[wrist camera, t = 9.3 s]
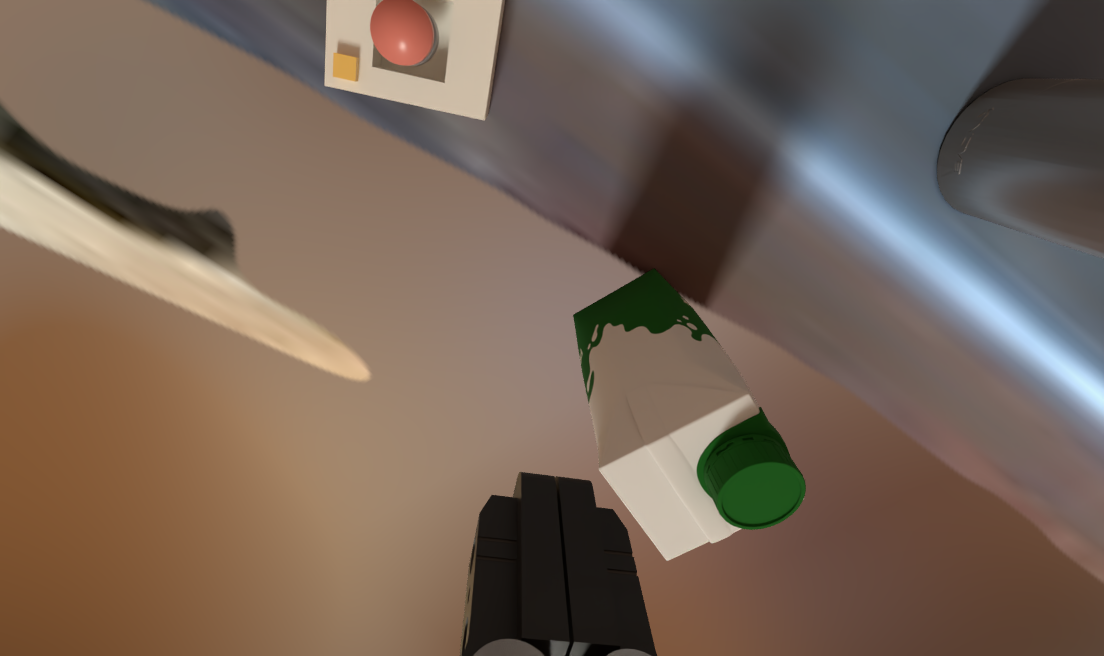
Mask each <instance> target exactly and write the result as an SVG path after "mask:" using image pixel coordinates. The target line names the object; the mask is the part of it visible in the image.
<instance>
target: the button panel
mask: <svg viewBox="0 0 1104 656" xmlns="http://www.w3.org/2000/svg"><path fill="white" fill-rule="evenodd" d="M381 1H383V0H327V17H326V54H325V86H329V87H333V88H338V89H342V90H347V91H352V92H356V93H361V94H365V95H370V96H375V97H379V98H384V99H388V100H393V101H398V102H402V103H407V104H411V105H416V106H421V107H425V108H430V109H434V110H439V111H444V112H448V113H453V114H457V115H462V116H467V117H471V118H476V119H480V120H485V119H486V118H487V116H488V113H489V106H490V100H491V93H492V86H493V79H494V73H495V66H496V59H497V53H498V46H499V39H500V32H501V26H502V19H503V12H504V5H505V0H413V1H414V2H416V3H417V4H419V5H420V6H422V7H423V8H425V9H426V10H427V11H428V12H429V13H430V14H431V15H432V17H433V18H434V20H435V22H436V24H437V27H438V31H439V44H438V48H437V50H436V53H435V54H434V56H433V57H432V58H431V59H430V60H429V61H428V62H426V63H424V64H422V65H418V66H405V65H398V64H394V63H392V62H390V61H388V60H387V59H386V58H384V57H383V56H382V55H381V54H380V53H379V51H378V50H377V48H376V47H375V45H374V43H373V40H372V37H371V32H370V21H371V16H372V14H373V11H374V9H375V8H376V6H377V5H378V4H379V3H380V2H381Z"/></svg>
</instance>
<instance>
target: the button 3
mask: <svg viewBox="0 0 1104 656" xmlns="http://www.w3.org/2000/svg"><path fill="white" fill-rule="evenodd" d="M370 32H371V37H372V40H373V43H374V45H375V47H376V48H377V50H378V51H379V53H380V54H381V55H382V56H383V57H384V58H386V59H387V60H388V61H390V62H392V63H394V64H398V65H405V66H418V65H422V64H424V63H426V62H428V61H429V60H430V59H431V58H432V57H433V56H434V54H435V53H436V50H437V48H438V44H439V31H438V27H437V24H436V22H435V20H434V18H433V17H432V15H431V14H430V13H429V12H428V11H427V10H426V9H425V8H423V7H422V6H420V5H419V4H417V3H416V2H414V1H413V0H383V1H381V2H380V3H379V4H378V5H377V6H376V8H375V9H374V11H373V14H372V16H371V21H370Z"/></svg>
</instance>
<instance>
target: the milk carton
mask: <svg viewBox="0 0 1104 656" xmlns="http://www.w3.org/2000/svg"><path fill="white" fill-rule="evenodd" d="M573 317H574V322H575V329H576V335H577V342H578V349H579V355H580V361H581V367H582V373H583V378H584V383H585V387H586V393H587V397H588V402H589V407H590V412H591V417H592V421H593V427H594V432H595V437H596V441H597V447H598V458H599V471H600V472H601V473H602V475H603V476H604V477H605V479H606V480H607V481H608V483H609V484H610V485H611V487H612V488H613V489H614V491H615V492H616V493H617V495H618V496H619V498H620V499H621V500H622V501H623V503H624V504H625V506H626V507H627V508H628V510H629V511H630V512H631V514H632V515H633V516H634V518H635V519H636V520H637V522H638V523H639V524H640V526H641V527H642V528H643V530H644V531H645V532H646V534H647V535H648V536H649V538H650V539H651V540H652V542H653V543H654V544H655V546H656V547H657V548H658V550H659V551H660V552H661V554H662V555H663V556H664V558H665V559H666V560H667V561H668V560H670V559H672V558H675V557H677V556H679V555H681V554H683V553H685V552H687V551H690V550H692V549H694V548H696V547H698V546H700V545H703V544H705V543H707V542H709V541H710V543H715V542H717V541H719V540H722V539H724V538H726V537H728V536H730V535H731V534H732V533H734V532H736V531H738V530H740V529H750V530H752V529H763V528H767V527H771V526H773V525H775V524H778V523H780V522H782V521H784V520H785V519H786V518H788V517H789V516H790V515H792V514H793V513H794V512H795V511H796V510H797V509H798V507H799V506H800V504H801V503H802V500H803V499H804V496H805V491H806V485H805V480H804V478H803V475H802V474H801V472H800V471H799V469H798V468H797V466H796V465H795V463H794V462H793V460H792V459H791V457H790V454H789V452H788V449H787V447H786V445H785V442H784V441H783V439H782V437H781V436H780V434H779V433H778V431H777V430H776V429H775V428H774V427H773V426H772V425H771V424H770V423H769V421H768V419H767V418H766V416H765V414H764V412H763V410H762V408H761V407H759V406H758V404H757V402H756V400H755V398H754V397H753V394H752V393H751V391H750V389H749V387H748V385H747V383H746V381H745V380H744V378H743V376H742V375H741V373H740V372H739V370H738V369H737V367H736V366H735V365H734V363H733V362H732V361H731V359H730V358H729V356H728V355H727V354H726V352H725V351H724V350H723V348H722V347H721V346H720V344H719V343H718V342H717V340H716V339H715V337H714V336H713V335H712V333H711V332H710V330H709V329H708V328H707V326H706V325H705V324H704V322H703V321H702V320H701V318H700V317H699V316H698V315H697V313H696V312H695V311H694V309H693V308H692V307H691V306H690V305H689V304H688V303H687V302H686V301H685V300H684V299H683V298H682V297H681V296H680V295H679V293H678V292H677V291H676V290H675V289H674V288H673V287H672V286H671V285H670V284H669V283H668V282H667V281H666V280H665V279H664V278H663V277H662V276H661V275H660V274H659V273H658V272H657V271H656V270H655V269H652V270H650V271H649V272H647V273H645V274H643V275H642V276H640V277H639V278H637V279H635V280H633V281H631V282H630V283H628V284H626V285H624V286H623V287H621V288H619V289H618V290H616V291H614V292H613V293H610V294H609V295H607V296H605V297H604V298H602V299H600V300H598V301H597V302H595V303H593V304H591V305H590V306H588V307H586V308H584V309H583V310H581V311H579V312H577V313H576V314H574V315H573Z"/></svg>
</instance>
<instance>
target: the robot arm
mask: <svg viewBox="0 0 1104 656" xmlns="http://www.w3.org/2000/svg"><path fill="white" fill-rule="evenodd" d="M937 180H938V184H939V188H940V191H941V193H942V195H943V197H944V199H945V200H946V201H947V202H948V203H949V204H950V205H951V206H952V207H953V208H954V209H956V210H958V211H960V212H962V213H964V214H967V215H970V216H974V217H977V218H980V219H983V220H986V221H989V222H992V223H995V224H998V225H1001V226H1004V227H1007V228H1010V229H1013V230H1016V231H1019V232H1022V233H1025V234H1028V235H1032V236H1035V237H1038V238H1041V239H1044V240H1047V241H1050V242H1053V243H1056V244H1059V245H1063V246H1066V247H1069V248H1072V249H1075V250H1078V251H1081V252H1084V253H1087V254H1090V255H1093V256H1097V257H1100V258H1103V259H1104V80H1101V79H1036V78H1022V79H1017V80H1013V81H1008V82H1006V83H1003V84H1001V85H999V86H996V87H994V88H992V89H990V90H989V91H987V92H986V93H984V94H983V95H981V96H980V97H978V98H977V99H976V100H975V101H974V102H973V103H972V104H970V105H969V106H968V107H967V108H966V109H965V110H964V111H963V112H962V114H961V115H960V116H959V117H958V119H957V120H956V121H955V122H954V124H953V125H952V127H951V129H950V130H949V132H948V134H947V135H946V137H945V140H944V142H943V145H942V147H941V150H940V154H939V159H938V164H937ZM460 656H657V654H656V651H655V647H654V642H653V638H652V634H651V629H650V626H649V621H648V617H647V612H646V609H645V604H644V600H643V595H642V591H641V587H640V582H639V578H638V576H637V570H636V565H635V561H634V557H632V548H631V544H630V540H629V536H628V531H627V529H626V527H625V526H624V525H623V523H622V522H621V520H620V519H619V517H618V516H617V514H616V513H615V512H614V510H613V509H606V508H597V507H596V503H595V497H594V491H593V486H592V483H591V481H589V480H581V479H573V478H565V477H557V476H556V477H554V476H548V475H540V474H532V473H525V472H524V473H523V472H519V474H518V478H517V482H516V486H515V490H514V494H513V497H505V496H497V495H492V496H491V497H490V499H489V500H488V501H487V503H486V504H485V506H484V507H483V509H482V511H481V512H480V514H479V520H478V525H477V529H476V534H475V539H474V544H473V549H472V554H471V559H470V564H469V571H468V580H467V592H466V600H465V612H464V620H463V630H462V640H461V650H460Z"/></svg>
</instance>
